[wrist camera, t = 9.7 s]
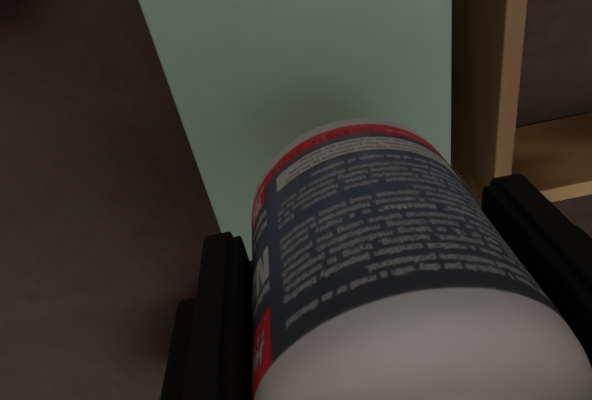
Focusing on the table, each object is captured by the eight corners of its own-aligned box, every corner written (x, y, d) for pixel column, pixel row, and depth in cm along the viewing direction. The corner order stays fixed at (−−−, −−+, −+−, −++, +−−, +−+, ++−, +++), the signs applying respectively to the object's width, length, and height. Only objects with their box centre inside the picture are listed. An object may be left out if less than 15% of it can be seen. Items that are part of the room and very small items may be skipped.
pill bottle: (219, 152, 11) (147, 687, 3) (431, 82, 10) (899, 532, 3) (288, 298, 14) (331, 762, 6) (457, 249, 13) (723, 692, 6)
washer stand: (235, 202, 24) (232, 265, 19) (160, -33, 17) (132, -15, 13) (415, 165, 23) (451, 221, 19) (404, -88, 17) (453, -86, 13)
